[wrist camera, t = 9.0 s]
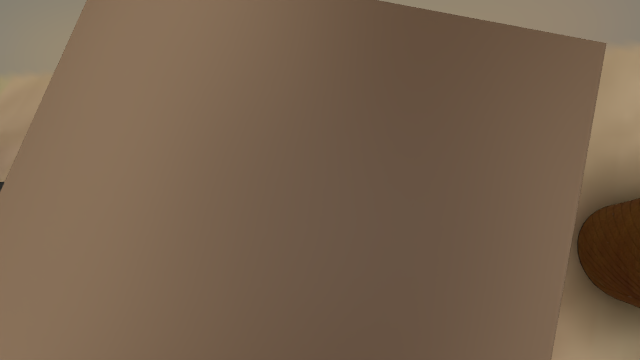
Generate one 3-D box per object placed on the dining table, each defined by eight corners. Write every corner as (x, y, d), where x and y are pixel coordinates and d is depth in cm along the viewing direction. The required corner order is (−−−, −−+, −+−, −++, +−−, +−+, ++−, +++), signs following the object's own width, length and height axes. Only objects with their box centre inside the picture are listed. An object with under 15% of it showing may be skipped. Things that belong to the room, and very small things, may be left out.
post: (252, 276, 15) (-111, 438, 3) (288, 161, 16) (109, -50, 4) (371, 316, 14) (484, 742, 2) (403, 193, 15) (606, 43, 3)
